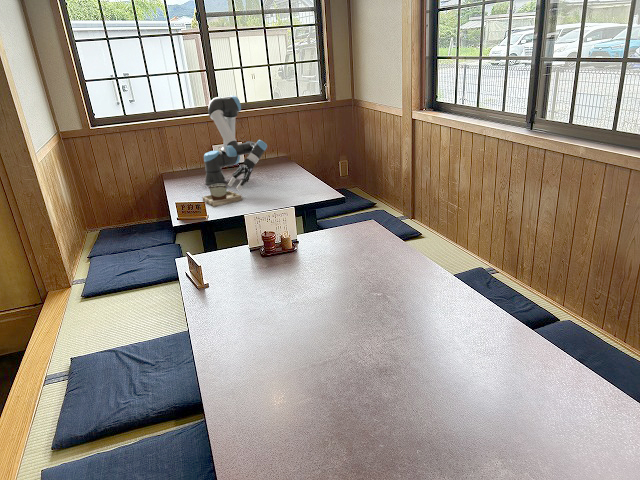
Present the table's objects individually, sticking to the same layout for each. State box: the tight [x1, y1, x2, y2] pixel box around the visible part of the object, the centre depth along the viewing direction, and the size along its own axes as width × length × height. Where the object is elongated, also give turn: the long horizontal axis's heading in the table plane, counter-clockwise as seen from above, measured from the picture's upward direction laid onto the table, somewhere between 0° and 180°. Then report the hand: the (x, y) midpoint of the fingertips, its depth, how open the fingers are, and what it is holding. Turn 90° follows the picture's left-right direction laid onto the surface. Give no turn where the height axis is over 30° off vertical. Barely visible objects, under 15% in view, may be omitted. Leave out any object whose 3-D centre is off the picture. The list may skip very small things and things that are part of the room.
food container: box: [208, 182, 228, 201], centre depth 316 cm, size 12×6×10 cm, turn 87°
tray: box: [201, 190, 243, 208], centre depth 317 cm, size 18×20×3 cm
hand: (233, 187), depth 319 cm, fingers open, 13 cm apart
